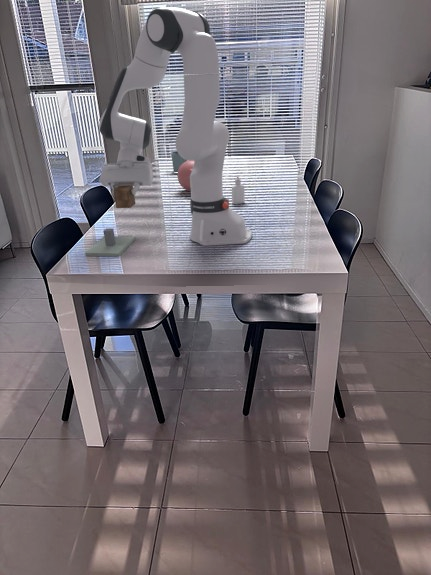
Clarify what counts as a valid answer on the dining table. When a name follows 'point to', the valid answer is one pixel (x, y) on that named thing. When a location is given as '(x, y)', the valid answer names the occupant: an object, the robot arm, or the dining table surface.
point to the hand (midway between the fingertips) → (123, 194)
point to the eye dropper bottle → (238, 192)
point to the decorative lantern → (185, 174)
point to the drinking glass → (177, 161)
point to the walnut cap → (124, 197)
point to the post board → (109, 249)
